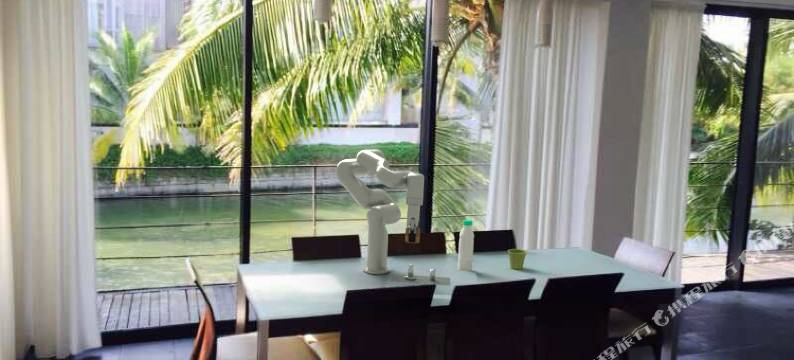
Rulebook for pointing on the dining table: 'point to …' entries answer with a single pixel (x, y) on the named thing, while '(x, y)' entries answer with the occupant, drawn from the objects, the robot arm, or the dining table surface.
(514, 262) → the plant pot
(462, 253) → the water bottle
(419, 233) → the sleeve
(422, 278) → the post board
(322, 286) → the dining table surface
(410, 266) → the steel posts
